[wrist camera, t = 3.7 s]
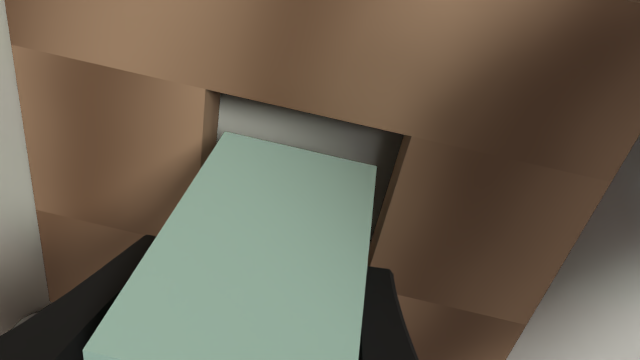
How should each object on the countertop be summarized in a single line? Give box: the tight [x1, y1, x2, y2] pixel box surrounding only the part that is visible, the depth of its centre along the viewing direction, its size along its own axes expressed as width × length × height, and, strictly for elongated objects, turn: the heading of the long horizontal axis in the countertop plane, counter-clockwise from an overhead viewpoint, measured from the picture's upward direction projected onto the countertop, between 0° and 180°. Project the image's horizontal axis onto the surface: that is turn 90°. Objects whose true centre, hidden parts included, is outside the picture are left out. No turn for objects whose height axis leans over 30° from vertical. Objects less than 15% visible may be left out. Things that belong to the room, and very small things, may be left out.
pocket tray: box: [5, 0, 640, 360], centre depth 16 cm, size 16×14×2 cm
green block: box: [83, 132, 377, 360], centre depth 11 cm, size 4×4×7 cm
